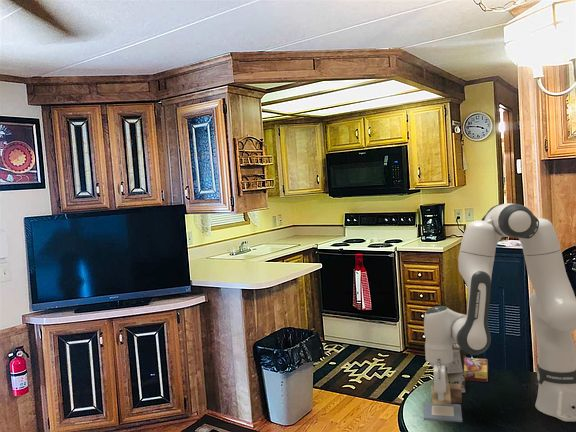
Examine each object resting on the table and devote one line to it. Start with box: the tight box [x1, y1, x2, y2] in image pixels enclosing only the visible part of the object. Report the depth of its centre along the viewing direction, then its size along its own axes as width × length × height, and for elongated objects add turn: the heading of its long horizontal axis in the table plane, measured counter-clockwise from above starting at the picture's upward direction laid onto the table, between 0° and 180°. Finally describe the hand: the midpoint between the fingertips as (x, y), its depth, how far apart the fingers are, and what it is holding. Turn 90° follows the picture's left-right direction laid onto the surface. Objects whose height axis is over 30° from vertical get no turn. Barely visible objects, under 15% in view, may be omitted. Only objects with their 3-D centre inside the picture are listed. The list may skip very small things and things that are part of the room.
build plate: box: [423, 401, 463, 423], centre depth 165 cm, size 12×12×1 cm
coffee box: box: [446, 343, 466, 394], centre depth 184 cm, size 9×6×16 cm
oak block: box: [430, 384, 452, 405], centre depth 164 cm, size 6×6×4 cm
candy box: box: [464, 357, 489, 383], centre depth 195 cm, size 9×4×15 cm
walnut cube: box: [446, 383, 463, 404], centre depth 174 cm, size 5×5×5 cm
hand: (441, 395), depth 164 cm, fingers closed on oak block, 6 cm apart
